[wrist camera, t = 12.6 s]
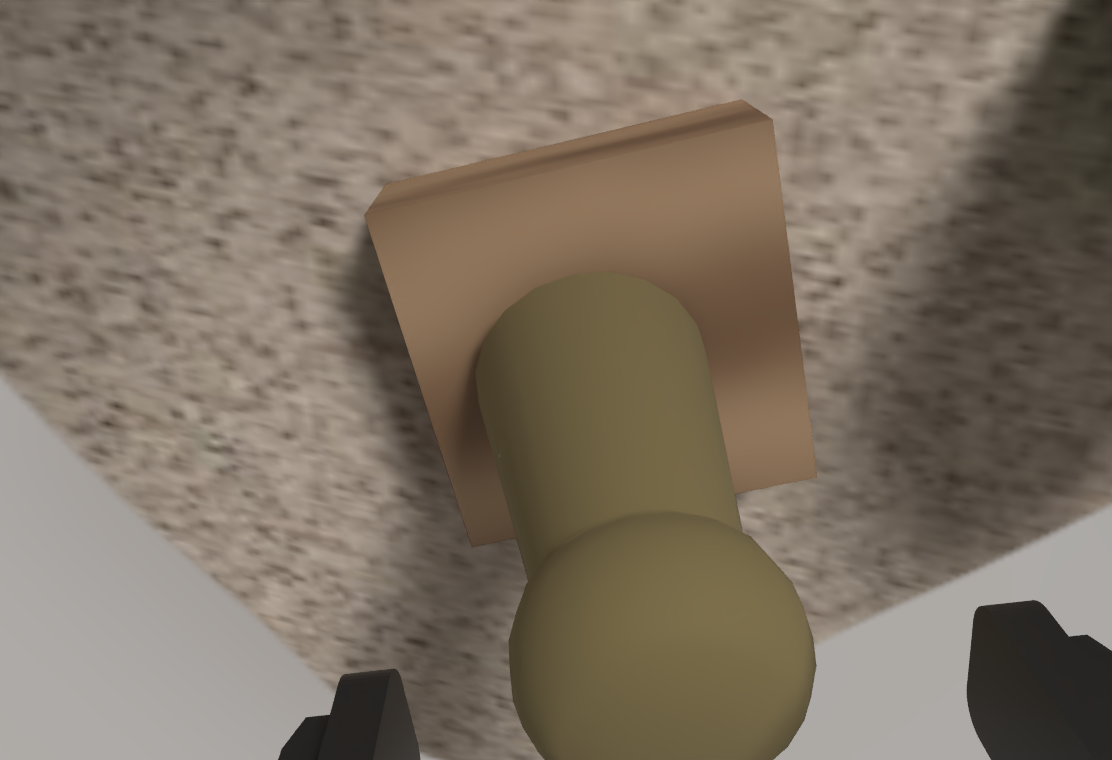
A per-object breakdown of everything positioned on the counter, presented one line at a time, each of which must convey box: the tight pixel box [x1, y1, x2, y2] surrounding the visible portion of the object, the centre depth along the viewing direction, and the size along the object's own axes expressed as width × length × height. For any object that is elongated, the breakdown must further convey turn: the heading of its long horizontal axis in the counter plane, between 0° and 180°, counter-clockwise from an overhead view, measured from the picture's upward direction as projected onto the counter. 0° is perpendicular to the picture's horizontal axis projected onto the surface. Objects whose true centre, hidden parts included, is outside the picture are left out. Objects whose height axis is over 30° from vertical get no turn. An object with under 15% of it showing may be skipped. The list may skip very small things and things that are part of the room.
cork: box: [476, 272, 816, 760], centre depth 19 cm, size 6×6×11 cm
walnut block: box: [364, 100, 817, 547], centre depth 25 cm, size 10×10×4 cm
